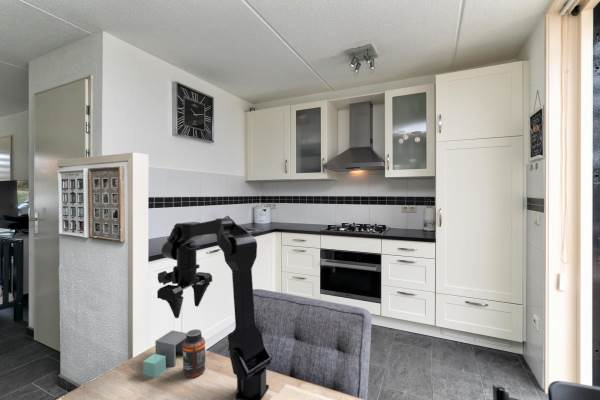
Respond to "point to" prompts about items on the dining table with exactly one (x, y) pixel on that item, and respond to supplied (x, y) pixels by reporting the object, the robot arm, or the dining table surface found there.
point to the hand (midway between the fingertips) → (187, 311)
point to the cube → (154, 365)
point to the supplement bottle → (194, 354)
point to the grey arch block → (170, 346)
